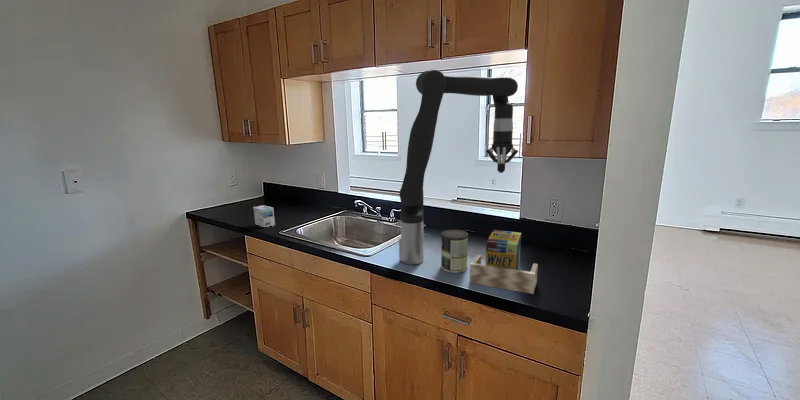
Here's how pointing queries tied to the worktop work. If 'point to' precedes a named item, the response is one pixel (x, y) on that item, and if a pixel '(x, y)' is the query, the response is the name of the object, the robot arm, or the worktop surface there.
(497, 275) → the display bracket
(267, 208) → the light bulb box
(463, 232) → the coffee can
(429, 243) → the worktop surface
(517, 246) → the protein box
